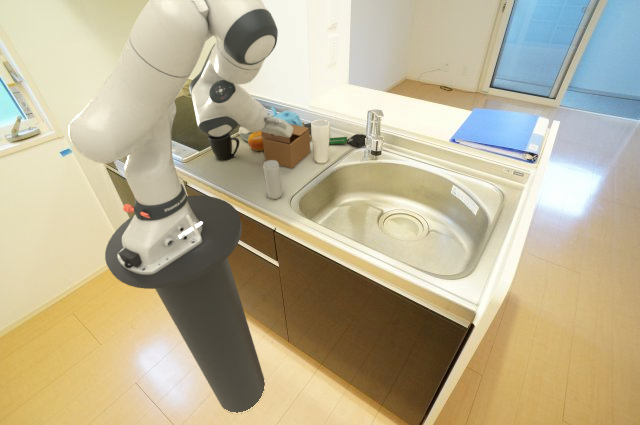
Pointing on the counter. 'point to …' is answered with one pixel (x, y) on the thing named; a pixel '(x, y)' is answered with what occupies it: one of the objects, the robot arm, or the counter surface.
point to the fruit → (256, 141)
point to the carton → (288, 148)
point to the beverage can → (272, 179)
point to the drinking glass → (320, 140)
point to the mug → (223, 146)
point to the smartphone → (308, 127)
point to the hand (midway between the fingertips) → (274, 133)
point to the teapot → (288, 117)
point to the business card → (337, 140)
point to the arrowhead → (244, 131)
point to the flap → (276, 137)
